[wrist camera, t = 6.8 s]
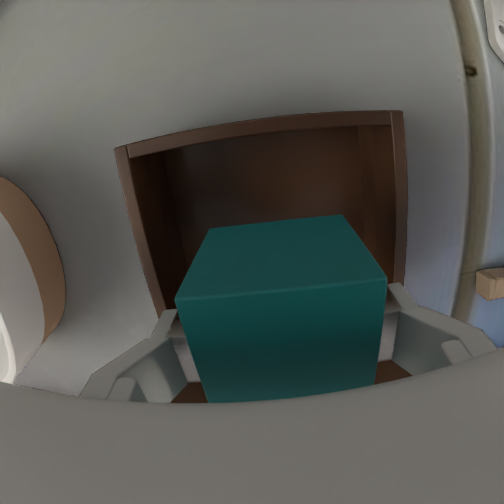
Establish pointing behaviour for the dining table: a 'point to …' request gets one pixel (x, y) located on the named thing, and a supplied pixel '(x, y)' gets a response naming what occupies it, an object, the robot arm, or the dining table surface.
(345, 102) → the dining table surface
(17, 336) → the bowl
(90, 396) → the robot arm
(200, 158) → the chest
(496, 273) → the toy figure
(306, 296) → the cube
